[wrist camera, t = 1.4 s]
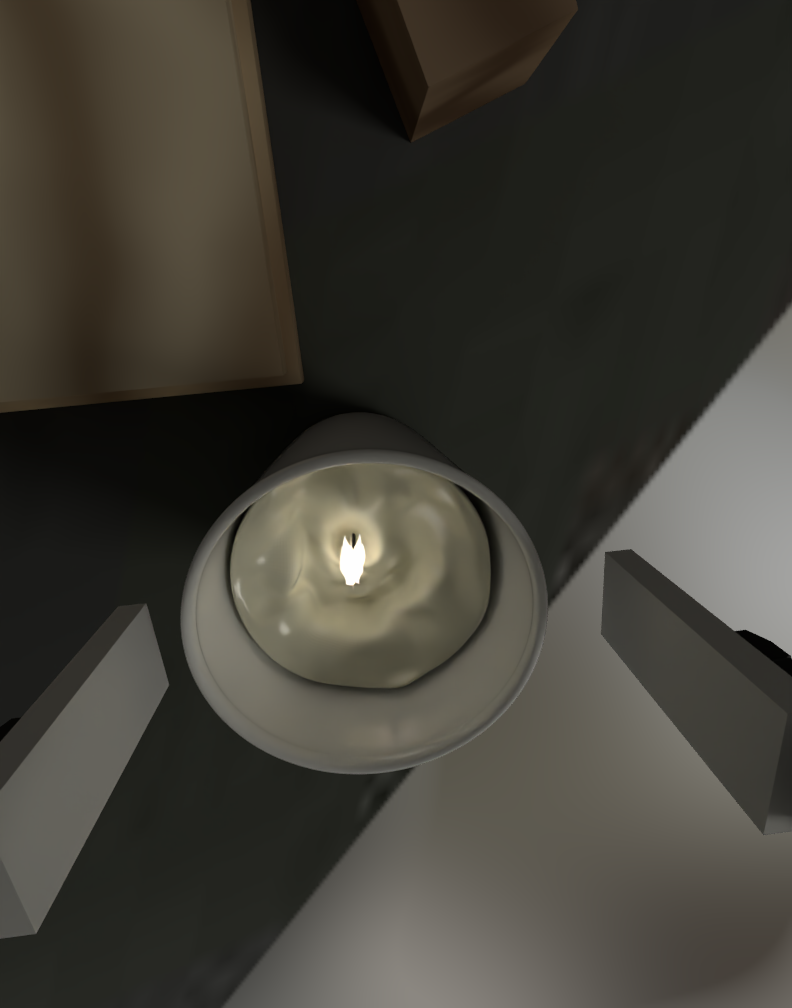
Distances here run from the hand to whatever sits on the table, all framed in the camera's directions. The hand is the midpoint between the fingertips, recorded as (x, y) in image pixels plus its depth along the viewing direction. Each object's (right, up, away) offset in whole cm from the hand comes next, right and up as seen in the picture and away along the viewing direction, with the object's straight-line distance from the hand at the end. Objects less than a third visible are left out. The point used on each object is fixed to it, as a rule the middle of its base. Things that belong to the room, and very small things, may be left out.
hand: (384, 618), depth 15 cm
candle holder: (-1, +4, +10) cm, 11 cm away
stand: (-11, +15, +6) cm, 19 cm away
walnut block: (+2, +21, +5) cm, 22 cm away
